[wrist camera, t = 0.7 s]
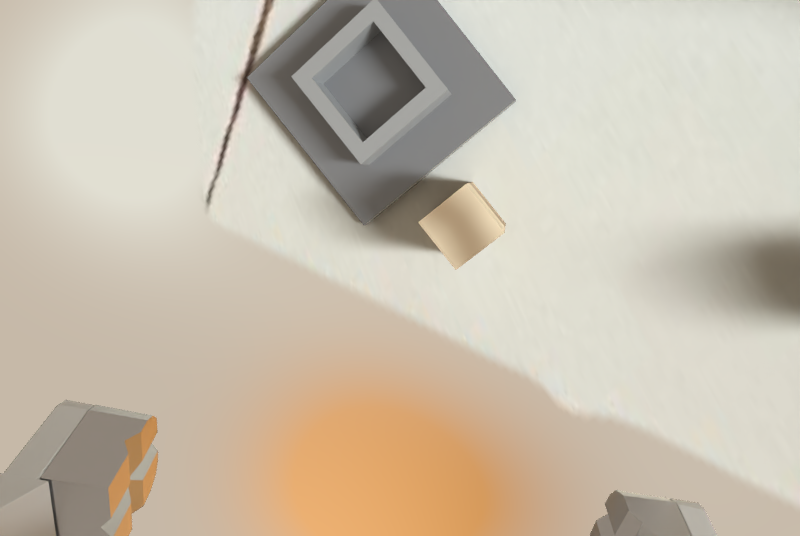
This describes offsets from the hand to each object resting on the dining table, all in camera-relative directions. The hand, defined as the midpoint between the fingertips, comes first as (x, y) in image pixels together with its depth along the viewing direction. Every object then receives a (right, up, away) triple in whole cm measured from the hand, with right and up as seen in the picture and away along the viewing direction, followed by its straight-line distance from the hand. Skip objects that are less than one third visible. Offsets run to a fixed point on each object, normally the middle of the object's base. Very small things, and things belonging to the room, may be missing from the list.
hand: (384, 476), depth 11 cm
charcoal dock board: (-1, +19, +40) cm, 44 cm away
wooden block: (+6, +8, +40) cm, 41 cm away
